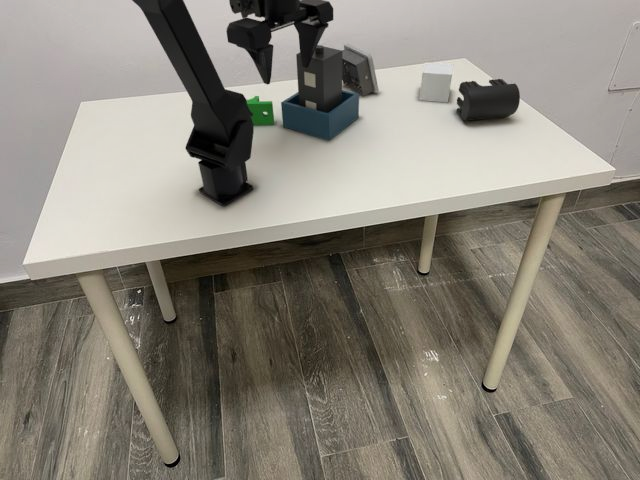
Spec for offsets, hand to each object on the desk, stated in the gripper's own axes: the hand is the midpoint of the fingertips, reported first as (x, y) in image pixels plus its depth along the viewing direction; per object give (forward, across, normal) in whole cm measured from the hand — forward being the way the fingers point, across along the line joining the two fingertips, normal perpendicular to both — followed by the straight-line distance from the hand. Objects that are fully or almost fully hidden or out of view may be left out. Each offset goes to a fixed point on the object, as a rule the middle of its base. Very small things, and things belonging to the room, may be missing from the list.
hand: (286, 75), depth 81 cm
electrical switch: (+13, -27, -5) cm, 31 cm away
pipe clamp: (+13, -1, -13) cm, 19 cm away
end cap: (+13, -32, +23) cm, 41 cm away
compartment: (+13, -10, -1) cm, 16 cm away
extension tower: (+12, -9, -1) cm, 16 cm away
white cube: (+13, -35, +10) cm, 39 cm away
